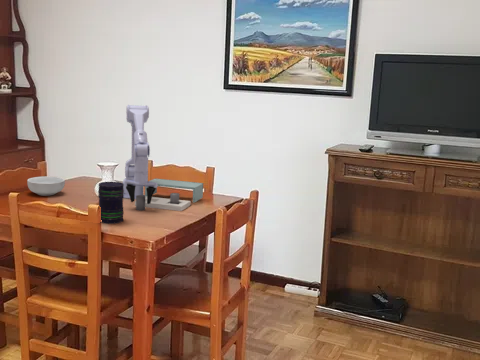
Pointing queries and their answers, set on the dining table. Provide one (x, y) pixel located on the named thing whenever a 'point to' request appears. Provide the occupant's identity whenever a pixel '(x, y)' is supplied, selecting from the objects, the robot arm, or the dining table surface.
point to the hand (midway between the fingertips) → (140, 202)
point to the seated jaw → (174, 198)
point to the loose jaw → (140, 202)
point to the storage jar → (111, 202)
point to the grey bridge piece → (194, 186)
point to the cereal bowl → (46, 185)
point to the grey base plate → (166, 204)
